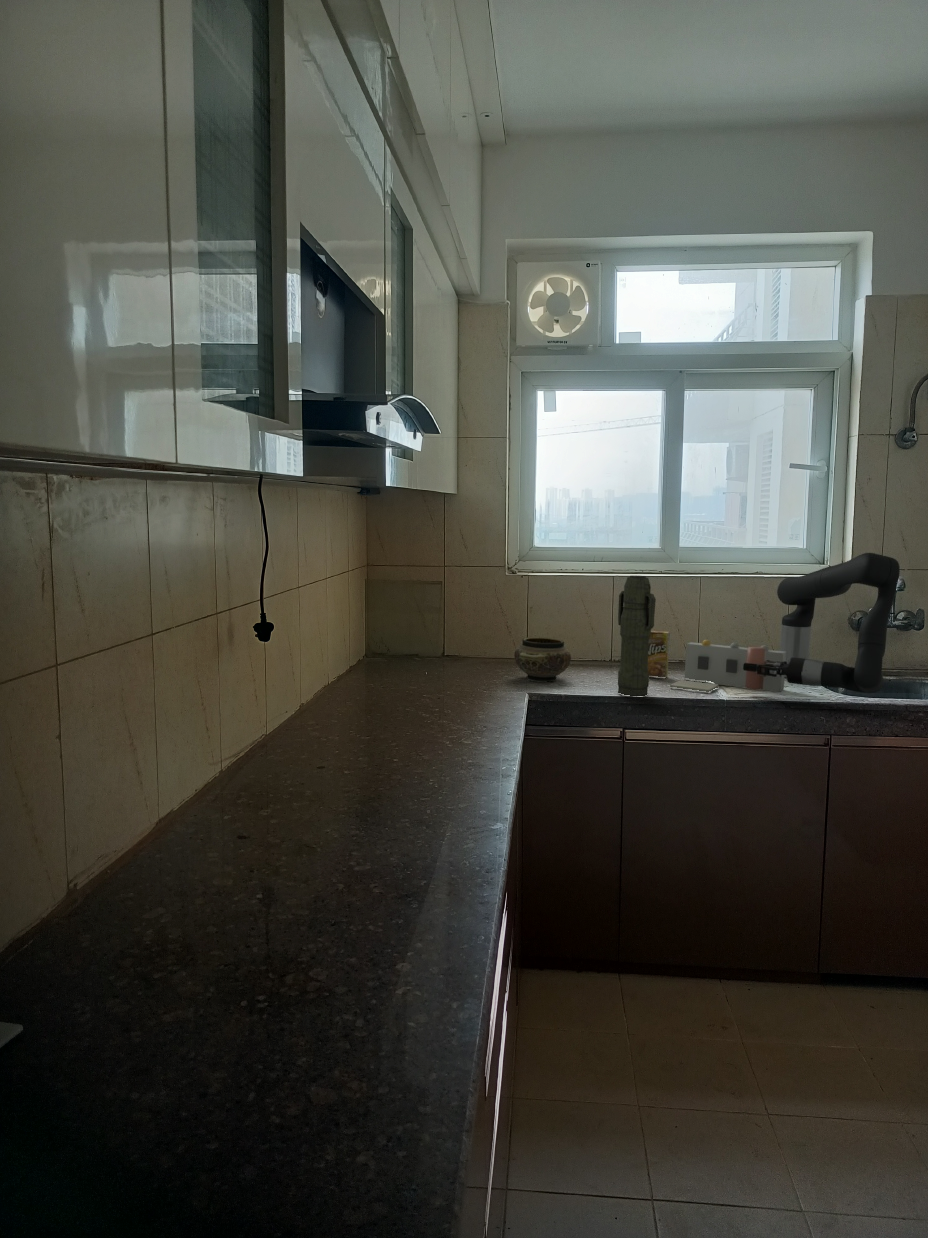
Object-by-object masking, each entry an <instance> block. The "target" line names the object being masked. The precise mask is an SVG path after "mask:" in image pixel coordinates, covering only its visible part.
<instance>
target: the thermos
mask: <svg viewBox="0 0 928 1238" xmlns="http://www.w3.org/2000/svg"><path fill="white" fill-rule="evenodd" d="M651 589H652V587H651V582H650V580H649V577H647V576H645V575H630V576H627V577H626V580H625V583H624V586H623V590H621V592H620V593H619V595H618V609H617V610H618V613H617V615H618V616H617V621H618V623H617V624H618V626H619V629H620V631H619V635H620V637H621V638H620V639H621V642H620V643H621V645H620V646H621V647H620V667H619V669H618V671H617V686H618V688H617V694H618V693H621V694H624V695H630V696H645V695H647V694H648V691H649V690H648V689H649V685H650V678H649V671H648V646H649V638H650V636H651V631H652V629H653V628H654V627H655V614H656V613H655V612H656V609H655V608H656V602H657V601H656V597H655V595H654V593H651V591H652V590H651ZM647 696H648V695H647ZM645 697H646V696H645Z"/></svg>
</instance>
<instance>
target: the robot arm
mask: <svg viewBox="0 0 928 1238" xmlns="http://www.w3.org/2000/svg"><path fill="white" fill-rule="evenodd" d="M900 572H901V571H900V563H899V561H898V560H897V558H894V557H890V556H887V555H884V554H879V553H874V552H865V553H862V554H860V555H857V556H855V557H853V558H850V559H849V560H847V561H844V562H841V563H838V564H834V565H831V566H827V567H823V568H820V569H818V570H816V571H812V572H809V573H807V574H804V575H801V576H800V575H799V576H795V577H786V578H784V579H783V580H782V581H780V583H779V584H778V586H777V591H776V593H777V594H776V595H777V598H778V599H779V601H780V602H781V603H782V604H784V605H787V606H796V608H795V610H793V611H792V612H790V613H788V614H786V615H785V614H784V615H783V616H782V618H781V629H780V630H781V631H780V643H779V644H780V646H779V651H784V652H786V661H784V662H783V661H769V660H766V661H765V664H752V663H744V664H743V670H745V671H753V672H756V673H757V674H761V675H767V676H773V677H776V676H777V677H781V675H785V678H786V681H787V683H788V684H796V685H802V686H803V685H805V686H809V687H810V686H811V687H826V688H827V687H828V688H837V689H838V688H839V689H844V690H849V691H853V692H856V693H861V694H874V693H877V692H879V691H881V690H882V688H883V687H884V684H885V679H884V677H883V657H884V656H885V654H886V653H885V652H886V645H887V633H888V632H887V631H888V624H889V619H890V616H891V615H890V614H891V612H892V611H891V610H892V607H893V604H894V599H895V595H896V591H897V589H898V584H899V580H900V579H899V578H900ZM853 584H854V585H855V584H857V585H858V584H859V585H864V586H865V585H866V586H869V587H872V588H877V599H876V601H875V603H874V605H873V607H872V608H871V610H870V611H869V612H868V613H867V615H866V616H865V617H864V619H863V620H862V622H861V624H860V627H859V630H858V631H859V632H858V637H857V654H856V660H855V664H854V667H852V666H847V665H845V664H843V663H838V662H833V661H824V660H822V661H821V660H818V659H812V658H810V650H811V647H810V646H811V634H812V633H811V632H812V622H813V620H814V614H815V607H816V606H815V605H816V599H827V598H833V597H837V596H840V595H843V594H846V593H847V592H848V591H849V590H850V588H851V587H852V585H853ZM761 668H764V671H761Z"/></svg>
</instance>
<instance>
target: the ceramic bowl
mask: <svg viewBox="0 0 928 1238" xmlns="http://www.w3.org/2000/svg"><path fill="white" fill-rule="evenodd" d="M521 642H522V644H520V645H519V646H517V647H516V648H515V651H514V656H513V657H514V660H515V663H516V665H517V667H518V669H519V670H521V671H522V672H523V673H525V674H526V679H527V680H528V681H530V680H531V682H533V681H537V682H536V683H548V682H547V681H553V682H555V681H557V676H559V675H561V674H562V673H563V672H565V671H566V669H568V667H569V665H570V663H571V660H572V656H571V653H570V651H569V649H568V648H566V647H565V641H564V640H563V639H562V640H561V639H558V638H553V637H552V638H551V637H540V636H528V637H523V638H522V641H521ZM554 680H555V681H554Z"/></svg>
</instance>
